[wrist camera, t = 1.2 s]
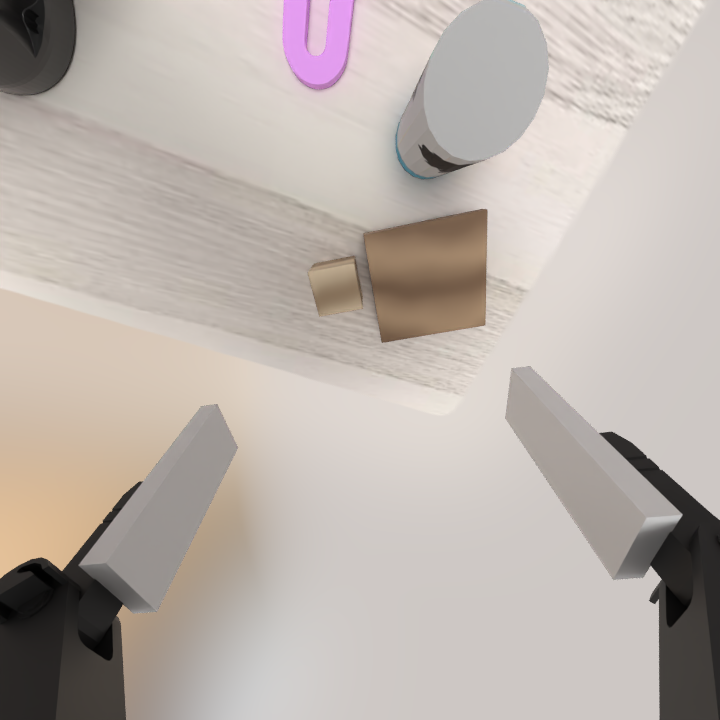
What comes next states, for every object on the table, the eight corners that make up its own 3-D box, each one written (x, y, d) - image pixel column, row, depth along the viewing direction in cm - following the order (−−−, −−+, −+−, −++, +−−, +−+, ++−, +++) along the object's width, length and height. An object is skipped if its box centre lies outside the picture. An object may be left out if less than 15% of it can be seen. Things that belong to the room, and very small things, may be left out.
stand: (363, 230, 33) (363, 234, 29) (469, 208, 32) (487, 209, 28) (379, 326, 39) (381, 342, 34) (470, 310, 38) (485, 325, 33)
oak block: (314, 263, 35) (307, 272, 31) (354, 255, 35) (353, 263, 30) (324, 303, 37) (319, 316, 33) (362, 296, 37) (362, 308, 33)
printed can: (453, 182, 31) (522, 166, 18) (391, 175, 31) (413, 155, 17) (470, 99, 28) (570, 5, 14) (400, 92, 27) (437, -11, 14)
